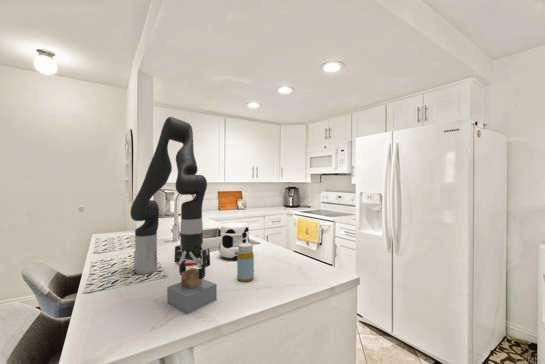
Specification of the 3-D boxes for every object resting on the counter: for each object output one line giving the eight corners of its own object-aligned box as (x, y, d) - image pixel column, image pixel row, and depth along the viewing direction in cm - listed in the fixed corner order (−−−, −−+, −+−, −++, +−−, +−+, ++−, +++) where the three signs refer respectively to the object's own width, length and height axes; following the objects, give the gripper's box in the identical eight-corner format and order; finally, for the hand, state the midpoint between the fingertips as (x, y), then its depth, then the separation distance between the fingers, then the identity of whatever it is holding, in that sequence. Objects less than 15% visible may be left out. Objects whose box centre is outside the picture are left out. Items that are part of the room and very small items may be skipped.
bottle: (234, 279, 109) (234, 244, 109) (246, 274, 114) (246, 241, 114) (244, 283, 104) (244, 247, 104) (257, 278, 109) (256, 244, 109)
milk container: (232, 250, 153) (232, 220, 153) (256, 254, 144) (256, 223, 144) (212, 258, 138) (212, 225, 138) (237, 263, 129) (237, 228, 129)
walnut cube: (181, 286, 89) (181, 272, 88) (191, 281, 93) (191, 267, 93) (192, 289, 86) (192, 274, 86) (202, 283, 91) (202, 269, 91)
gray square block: (167, 303, 88) (167, 286, 88) (196, 291, 98) (196, 276, 98) (187, 315, 81) (187, 296, 81) (216, 300, 91) (216, 284, 91)
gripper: (168, 231, 89) (168, 277, 89) (200, 235, 83) (200, 284, 83) (184, 227, 96) (184, 270, 96) (214, 230, 90) (214, 276, 90)
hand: (192, 276), depth 89 cm, fingers open, 8 cm apart
